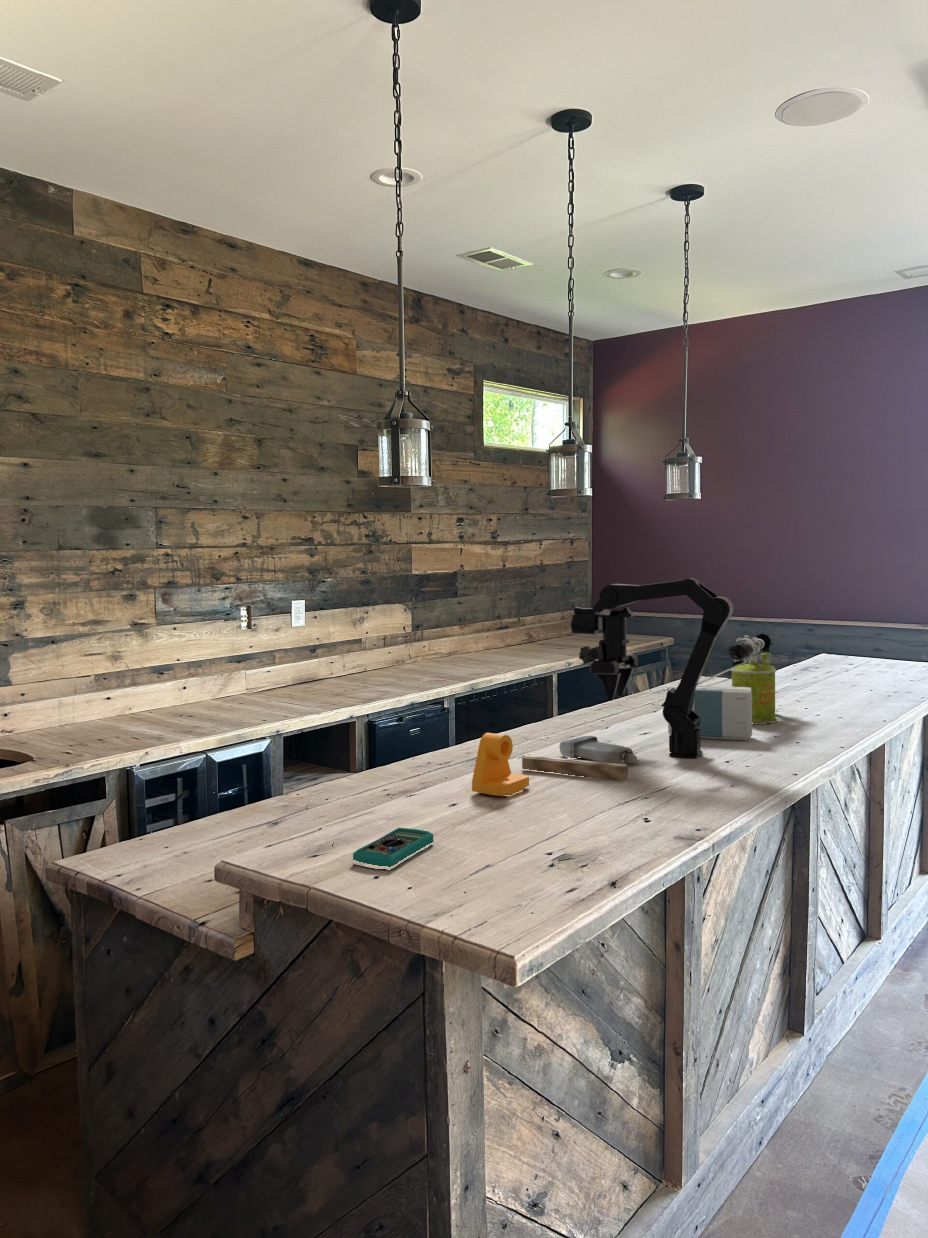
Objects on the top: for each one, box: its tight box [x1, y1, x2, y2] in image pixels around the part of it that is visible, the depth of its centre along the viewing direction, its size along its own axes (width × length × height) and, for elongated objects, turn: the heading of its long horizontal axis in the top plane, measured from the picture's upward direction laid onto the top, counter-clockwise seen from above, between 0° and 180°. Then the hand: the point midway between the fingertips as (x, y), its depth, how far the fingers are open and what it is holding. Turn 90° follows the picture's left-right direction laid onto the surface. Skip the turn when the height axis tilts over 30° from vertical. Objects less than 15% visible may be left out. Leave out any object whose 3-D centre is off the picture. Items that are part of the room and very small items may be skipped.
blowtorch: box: [728, 633, 778, 725], centre depth 258 cm, size 13×33×25 cm, turn 148°
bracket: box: [471, 732, 530, 797], centre depth 188 cm, size 11×7×12 cm, turn 141°
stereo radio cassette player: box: [667, 661, 753, 742], centre depth 237 cm, size 21×8×20 cm, turn 68°
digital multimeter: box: [352, 827, 434, 867], centre depth 150 cm, size 7×15×3 cm, turn 153°
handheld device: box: [559, 735, 638, 764], centre depth 215 cm, size 10×20×5 cm, turn 45°
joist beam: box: [521, 754, 629, 782], centre depth 201 cm, size 24×3×3 cm, turn 61°
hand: (615, 698), depth 224 cm, fingers open, 7 cm apart
